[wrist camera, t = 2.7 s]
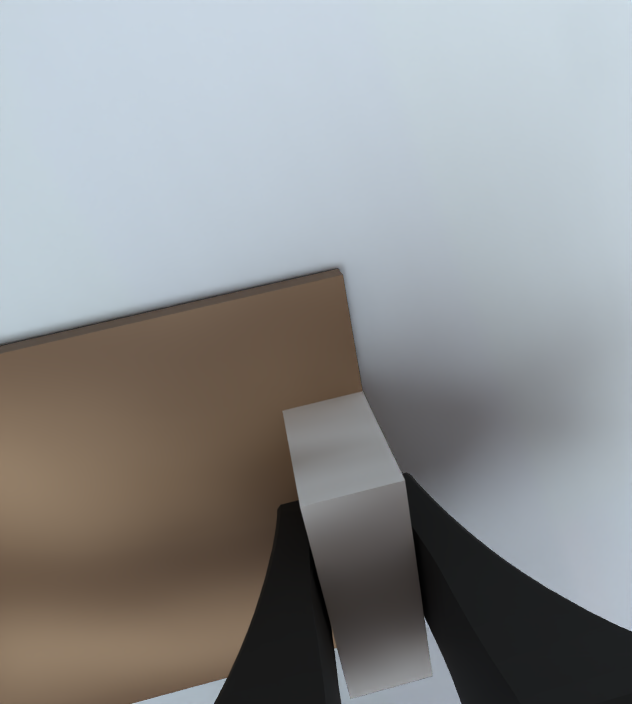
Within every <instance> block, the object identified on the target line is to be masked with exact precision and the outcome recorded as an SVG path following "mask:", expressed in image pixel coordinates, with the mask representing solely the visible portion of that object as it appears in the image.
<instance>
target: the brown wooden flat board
mask: <svg viewBox="0 0 632 704" xmlns="http://www.w3.org/2000/svg"><path fill="white" fill-rule="evenodd" d="M297 500H299V504H300V509H301V512H302V516H303V520H304V524H305V528H306V531H307V535H308V539H309V543H310V547H311V550H312V554H313V558H314V562H315V566H316V570H317V573H318V577H319V581H320V585H321V589H322V592H323V596H324V600H325V604H326V608H327V611H328V615H329V619H330V623H331V627H332V634H333V643H334V648H337V650H338V653H339V657H340V661H341V665H342V669H343V672H344V676H345V680H346V684H347V688H348V692H349V695H350V699H352V698H356V697H360V696H363V695H367V694H370V693H374V692H378V691H381V690H385V689H388V688H392V687H396V686H399V685H403V684H406V683H410V682H414V681H417V680H421V679H424V678H428V677H432V669H431V662H430V655H429V648H428V641H427V633H426V626H425V619H424V612H423V605H422V598H421V591H420V584H419V576H418V569H417V562H416V555H415V548H414V541H413V534H412V527H411V519H410V512H409V505H408V498H407V491H406V484H405V479H404V477H403V475H402V473H401V471H400V469H399V467H398V464H397V462H396V460H395V458H394V456H393V454H392V452H391V450H390V448H389V446H388V443H387V441H386V439H385V437H384V435H383V433H382V431H381V429H380V427H379V425H378V423H377V420H376V418H375V416H374V414H373V412H372V410H371V408H370V406H369V404H368V402H367V399H366V397H365V395H364V393H363V391H362V385H361V379H360V373H359V367H358V361H357V355H356V350H355V344H354V338H353V332H352V326H351V320H350V314H349V308H348V303H347V297H346V291H345V285H344V279H343V274H342V273H341V272H340V270H339V269H334V270H330V271H326V272H321V273H317V274H312V275H308V276H304V277H299V278H295V279H291V280H286V281H282V282H278V283H273V284H269V285H264V286H260V287H256V288H251V289H247V290H243V291H238V292H234V293H230V294H225V295H221V296H216V297H212V298H208V299H203V300H199V301H195V302H190V303H186V304H182V305H177V306H173V307H168V308H164V309H160V310H155V311H151V312H147V313H142V314H138V315H134V316H129V317H125V318H120V319H116V320H112V321H107V322H103V323H99V324H94V325H90V326H86V327H81V328H77V329H72V330H68V331H64V332H59V333H55V334H51V335H46V336H42V337H38V338H33V339H29V340H24V341H20V342H16V343H11V344H7V345H3V346H0V704H132V703H136V702H139V701H143V700H147V699H150V698H154V697H158V696H161V695H165V694H169V693H172V692H176V691H180V690H183V689H187V688H191V687H194V686H198V685H202V684H205V683H209V682H213V681H217V680H220V679H224V678H227V677H228V675H229V673H230V670H231V668H232V666H233V664H234V662H235V659H236V657H237V655H238V653H239V651H240V648H241V646H242V643H243V641H244V638H245V636H246V633H247V631H248V628H249V625H250V623H251V620H252V617H253V614H254V612H255V609H256V605H257V602H258V599H259V596H260V593H261V589H262V586H263V583H264V579H265V576H266V572H267V568H268V564H269V559H270V555H271V551H272V546H273V541H274V536H275V529H276V521H277V509H278V508H279V506H280V505H281V504H285V503H289V502H293V501H297Z"/></svg>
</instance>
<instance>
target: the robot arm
mask: <svg viewBox="0 0 632 704" xmlns="http://www.w3.org/2000/svg"><path fill="white" fill-rule="evenodd" d="M402 475H403V477H404V479H405V484H406V491H407V498H408V505H409V512H410V519H411V527H412V534H413V541H414V548H415V555H416V562H417V569H418V576H419V584H420V591H421V598H422V605H423V612H424V616H425V619H426V621H427V623H428V625H429V627H430V629H431V631H432V634H433V636H434V638H435V640H436V642H437V644H438V647H439V649H440V651H441V653H442V655H443V657H444V660H445V662H446V664H447V667H448V669H449V672H450V674H451V676H452V679H453V682H454V684H455V687H456V690H457V693H458V695H459V698H460V701H461V704H632V631H629V630H627V629H625V628H622V627H620V626H618V625H616V624H613V623H611V622H609V621H607V620H605V619H603V618H601V617H599V616H597V615H595V614H593V613H591V612H589V611H587V610H586V609H584V608H582V607H580V606H578V605H577V604H575V603H573V602H571V601H570V600H568V599H566V598H564V597H562V596H561V595H559V594H557V593H555V592H553V591H552V590H550V589H548V588H547V587H545V586H543V585H542V584H540V583H539V582H537V581H535V580H534V579H532V578H531V577H529V576H528V575H526V574H524V573H523V572H522V571H520V570H519V569H517V568H516V567H514V566H513V565H511V564H510V563H508V562H507V561H506V560H504V559H503V558H501V557H500V556H499V555H497V554H496V553H495V552H493V551H492V550H491V549H489V548H488V547H487V546H486V545H484V544H483V543H482V542H481V541H479V540H478V539H477V538H476V537H474V536H473V535H472V534H471V533H470V532H468V531H467V530H466V529H465V528H464V527H463V526H461V525H460V524H459V523H458V522H457V521H456V520H455V519H454V518H453V517H451V516H450V515H449V514H448V513H447V512H446V511H445V510H444V509H443V508H442V507H441V506H440V505H439V504H438V503H437V502H435V501H434V500H433V499H432V498H431V497H430V496H429V494H428V493H427V492H426V491H425V490H424V489H423V488H422V487H421V486H420V485H419V484H418V483H417V482H416V481H415V479H414V478H413V477H412V476H411V475H410V474H408V473H403V474H402ZM214 704H341V699H340V693H339V686H338V677H337V668H336V660H335V651H334V643H333V634H332V627H331V623H330V619H329V615H328V611H327V608H326V604H325V600H324V596H323V592H322V589H321V585H320V581H319V577H318V573H317V570H316V566H315V562H314V558H313V554H312V550H311V547H310V543H309V539H308V535H307V531H306V528H305V524H304V520H303V516H302V512H301V509H300V504H299V500H297V501H293V502H289V503H285V504H281V505H280V506H279V508H278V509H277V521H276V529H275V536H274V541H273V546H272V551H271V555H270V559H269V564H268V568H267V572H266V576H265V579H264V583H263V586H262V589H261V593H260V596H259V599H258V602H257V605H256V609H255V612H254V614H253V617H252V620H251V623H250V625H249V628H248V631H247V633H246V636H245V638H244V641H243V643H242V646H241V648H240V651H239V653H238V655H237V657H236V659H235V662H234V664H233V666H232V668H231V670H230V673H229V675H228V677H227V679H226V681H225V683H224V685H223V687H222V689H221V691H220V693H219V695H218V697H217V699H216V701H215V703H214Z"/></svg>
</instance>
